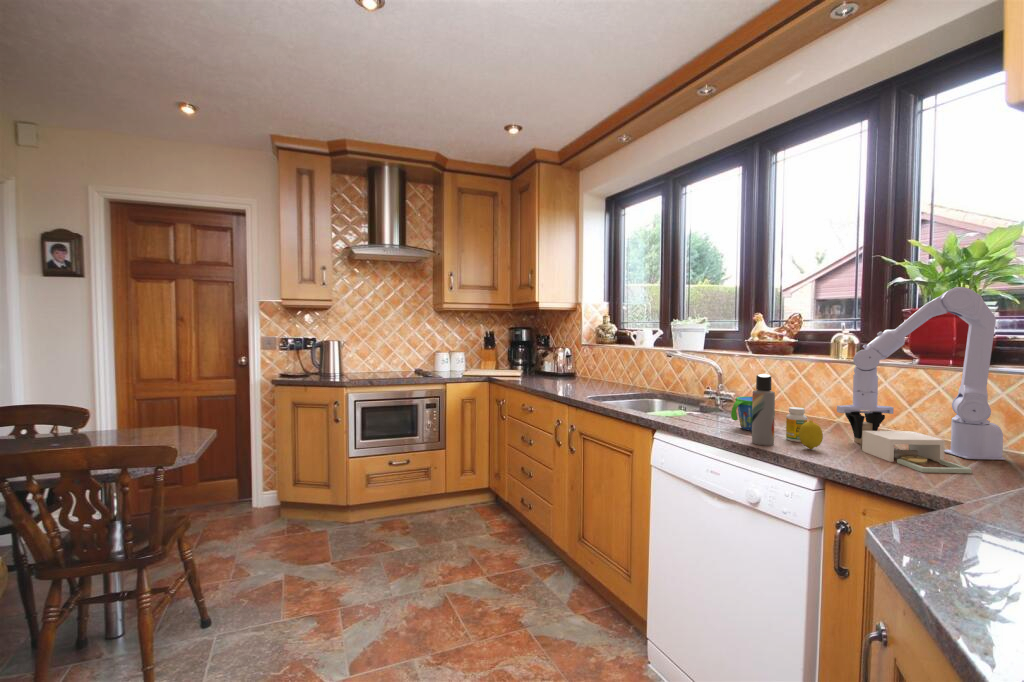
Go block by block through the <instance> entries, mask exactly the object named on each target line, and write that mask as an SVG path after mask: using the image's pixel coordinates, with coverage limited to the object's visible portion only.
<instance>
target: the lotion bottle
mask: <svg viewBox="0 0 1024 682" xmlns="http://www.w3.org/2000/svg"><path fill="white" fill-rule="evenodd" d="M755 379H756V381H755V383H756V385H755V390H752V396H751V397H752V431H751V443H753V444H754V445H758V446H767V447H769V446H773V445H774V444H775V416H776V411H775V410H776V409H775V408H776V407H775V406H776V404H775V403H776V402H775V401H776V393H775V392H774V390H773V391H772V375H770V374H767V373H761V374H757V375H756V378H755Z"/></svg>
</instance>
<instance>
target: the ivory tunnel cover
mask: <svg viewBox="0 0 1024 682" xmlns="http://www.w3.org/2000/svg"><path fill="white" fill-rule="evenodd" d="M945 442H946V440H945V439H942V438H938V437H934V436H932V435H928V434H924V433H920V432H916V431H913V430H912V431H908V430H904V431H902V430H877V431H863V437H862V444H861V446H862V448H861V451H862V452H863V453H866V454H869V455H871V456H874V457H876V458H879V459H881V460H884V461H887V462H892V463H893V462H894V459H895V458H894V448H895V445H908V450H917V451H918V456H922V457H925V458H927V460H931V461H934V462H938V463H939V461H940V460H945V452H944V450H945V444H946V443H945Z"/></svg>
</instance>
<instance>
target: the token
mask: <svg viewBox="0 0 1024 682" xmlns="http://www.w3.org/2000/svg"><path fill="white" fill-rule="evenodd" d="M900 459H902V460H905V461H908V462H911V463H913V464H916V465H927V464H928V458H925V457H922V456H919V455H918V456H917V455H909V454H904V455H901V458H900Z"/></svg>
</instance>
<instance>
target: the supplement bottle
mask: <svg viewBox="0 0 1024 682" xmlns="http://www.w3.org/2000/svg"><path fill="white" fill-rule="evenodd" d="M788 412H789V413H788V414H786V418H785V421H786V422H785V423H786V425H785V434H786V435H785V437H786V440H788V441H790V442H794V443H795V442H797V443H802V442H801V441H800V438H799V430H800V427H801V426H802V425H803V424H804V423H806V422H808V417H807V416H806V415H805V412H806V409H805V408H804V407H795V406H794V407H793V406H792V407H791V406H790V407H788Z"/></svg>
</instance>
